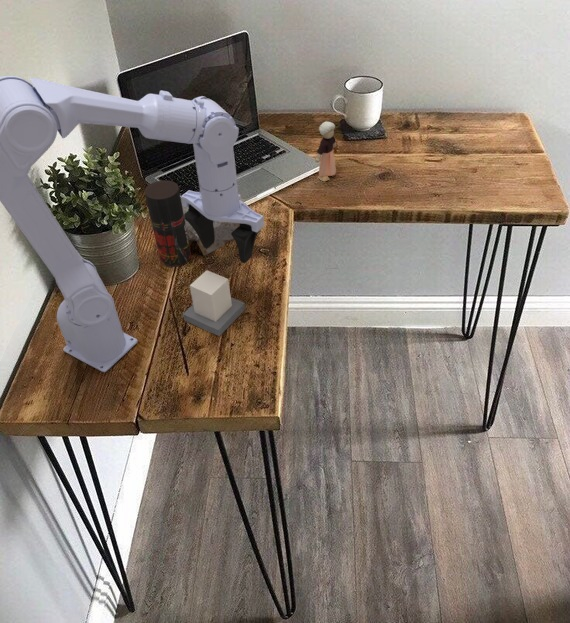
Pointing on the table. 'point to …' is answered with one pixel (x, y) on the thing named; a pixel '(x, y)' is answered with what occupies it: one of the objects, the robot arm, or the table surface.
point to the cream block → (211, 295)
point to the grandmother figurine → (326, 152)
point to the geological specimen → (220, 231)
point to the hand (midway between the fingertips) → (227, 252)
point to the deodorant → (168, 222)
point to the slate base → (221, 323)
